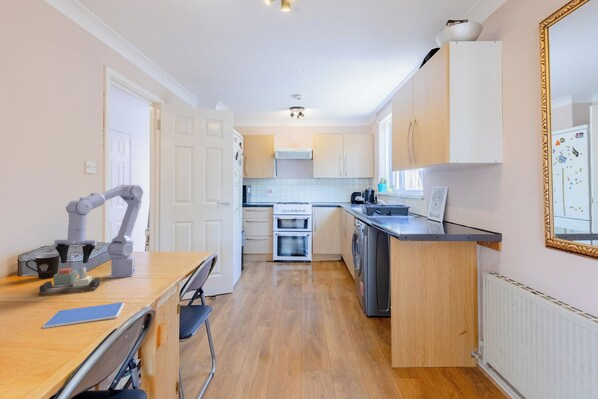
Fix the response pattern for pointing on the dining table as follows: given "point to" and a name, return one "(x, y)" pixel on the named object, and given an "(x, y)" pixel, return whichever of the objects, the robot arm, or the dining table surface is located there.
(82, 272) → the carriage
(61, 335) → the dining table surface
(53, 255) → the coffee mug
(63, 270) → the plunger
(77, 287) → the dark gray tray
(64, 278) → the gauge cabinet
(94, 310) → the tablet computer
